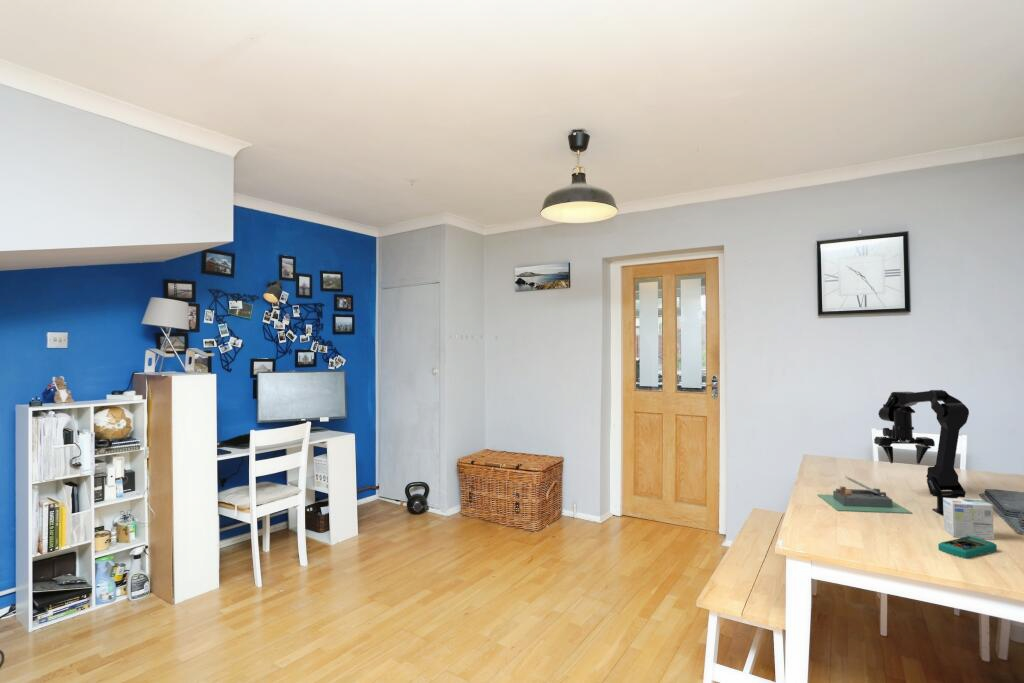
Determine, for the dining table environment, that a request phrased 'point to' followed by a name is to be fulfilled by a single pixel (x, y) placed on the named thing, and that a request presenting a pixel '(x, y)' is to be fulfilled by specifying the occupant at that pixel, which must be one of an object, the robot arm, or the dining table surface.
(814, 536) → the dining table surface
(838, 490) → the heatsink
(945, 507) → the light bulb box
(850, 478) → the grey flat long bar
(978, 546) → the digital multimeter
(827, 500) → the board
